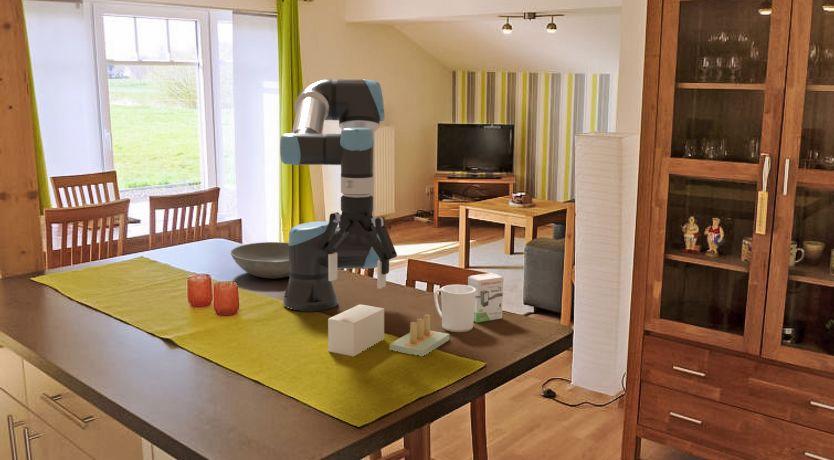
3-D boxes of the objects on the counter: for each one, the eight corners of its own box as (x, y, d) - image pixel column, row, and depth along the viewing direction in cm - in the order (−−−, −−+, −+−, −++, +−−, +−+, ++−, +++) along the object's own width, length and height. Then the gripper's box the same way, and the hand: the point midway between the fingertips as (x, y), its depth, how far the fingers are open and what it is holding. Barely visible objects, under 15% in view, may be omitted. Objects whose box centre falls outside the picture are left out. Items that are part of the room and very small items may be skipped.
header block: (389, 350, 187) (389, 323, 185) (417, 333, 199) (417, 309, 197) (423, 356, 182) (423, 329, 181) (449, 339, 195) (449, 314, 193)
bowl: (216, 283, 245) (216, 257, 243) (250, 263, 272) (249, 239, 270) (301, 288, 240) (301, 262, 239) (326, 267, 268) (326, 243, 266)
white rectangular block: (353, 356, 182) (353, 323, 180) (328, 351, 185) (328, 318, 184) (384, 339, 194) (384, 308, 193) (359, 335, 197) (359, 304, 196)
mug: (478, 324, 207) (479, 286, 205) (469, 334, 199) (470, 295, 197) (438, 319, 211) (439, 282, 209) (428, 329, 203) (428, 290, 201)
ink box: (476, 323, 208) (478, 280, 206) (466, 318, 213) (467, 276, 210) (502, 318, 213) (504, 276, 211) (491, 313, 217) (493, 272, 215)
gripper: (303, 192, 185) (304, 280, 189) (395, 201, 174) (394, 294, 178) (321, 189, 192) (322, 273, 195) (411, 197, 180) (410, 286, 184)
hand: (356, 283), depth 186 cm, fingers open, 13 cm apart
